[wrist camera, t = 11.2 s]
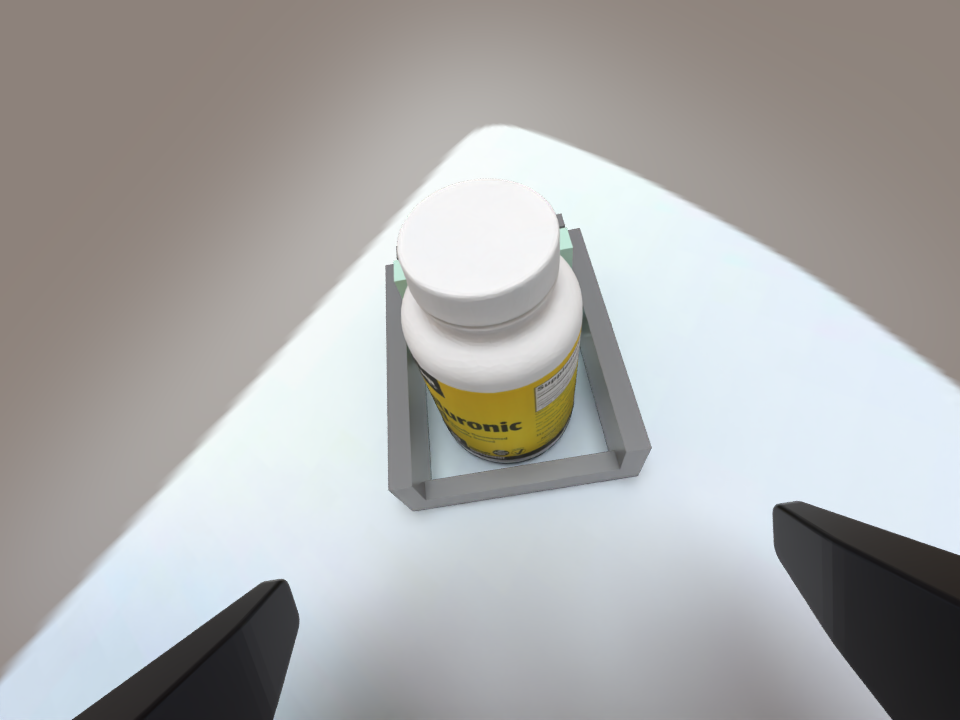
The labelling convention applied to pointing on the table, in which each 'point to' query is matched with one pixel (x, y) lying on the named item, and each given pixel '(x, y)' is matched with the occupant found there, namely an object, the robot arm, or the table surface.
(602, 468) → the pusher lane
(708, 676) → the table surface
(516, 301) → the supplement bottle
